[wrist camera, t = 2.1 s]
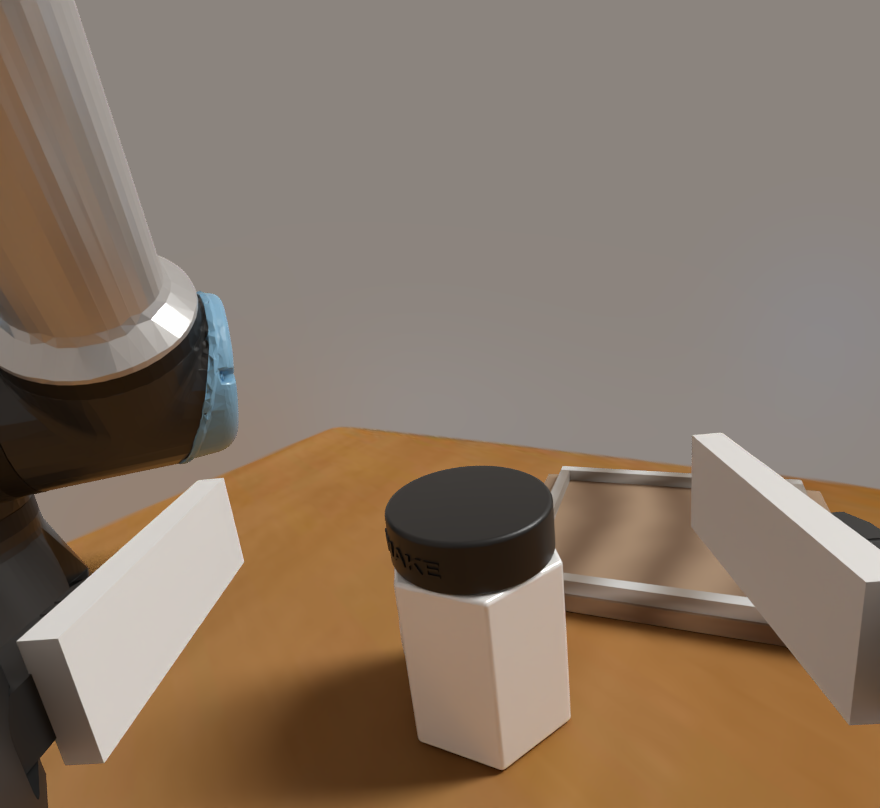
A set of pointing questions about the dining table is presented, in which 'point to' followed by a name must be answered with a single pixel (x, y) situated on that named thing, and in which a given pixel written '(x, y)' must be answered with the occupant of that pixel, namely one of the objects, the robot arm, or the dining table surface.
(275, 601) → the dining table surface
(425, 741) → the jar
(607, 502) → the tray
